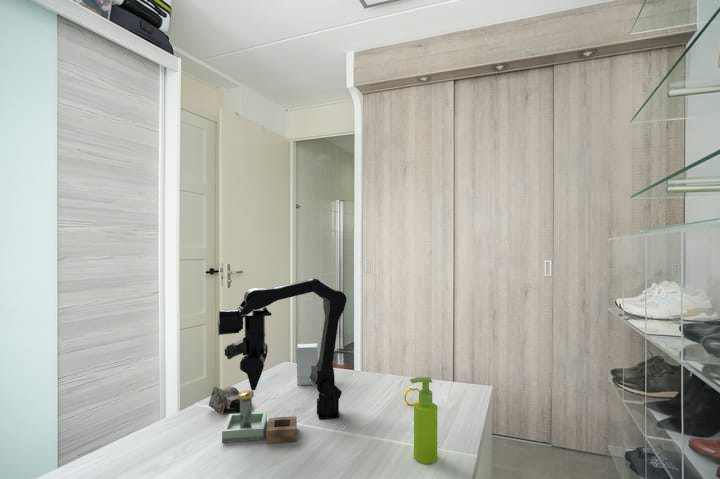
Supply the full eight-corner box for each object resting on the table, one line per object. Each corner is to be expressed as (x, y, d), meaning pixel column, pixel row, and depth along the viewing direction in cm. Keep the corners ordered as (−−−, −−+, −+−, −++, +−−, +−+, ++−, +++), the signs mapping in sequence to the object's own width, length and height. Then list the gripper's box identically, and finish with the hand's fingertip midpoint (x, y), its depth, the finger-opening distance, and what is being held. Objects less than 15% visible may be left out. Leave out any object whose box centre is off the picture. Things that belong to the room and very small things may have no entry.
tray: (266, 421, 118) (266, 411, 118) (263, 439, 107) (263, 428, 107) (229, 424, 116) (229, 414, 116) (221, 442, 105) (222, 431, 105)
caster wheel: (253, 413, 130) (231, 420, 121) (229, 400, 135) (206, 406, 126) (258, 393, 130) (237, 399, 121) (234, 381, 135) (212, 385, 126)
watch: (419, 403, 133) (420, 385, 133) (422, 406, 130) (423, 388, 131) (402, 402, 132) (403, 385, 133) (404, 406, 130) (406, 388, 130)
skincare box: (318, 380, 155) (319, 342, 155) (317, 385, 149) (317, 346, 149) (297, 380, 155) (298, 342, 155) (295, 385, 149) (296, 346, 149)
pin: (254, 423, 114) (254, 389, 114) (252, 431, 110) (252, 395, 110) (239, 424, 113) (239, 390, 113) (236, 432, 109) (236, 396, 109)
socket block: (296, 428, 114) (296, 416, 114) (296, 441, 106) (296, 428, 106) (268, 430, 112) (268, 417, 112) (266, 443, 104) (266, 430, 105)
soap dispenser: (407, 452, 101) (407, 374, 101) (433, 451, 101) (433, 374, 102) (412, 464, 95) (412, 382, 95) (440, 463, 95) (440, 382, 96)
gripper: (231, 326, 122) (231, 375, 122) (220, 340, 104) (220, 398, 104) (267, 324, 124) (268, 373, 124) (262, 338, 106) (263, 395, 105)
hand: (255, 384), depth 114 cm, fingers open, 9 cm apart
